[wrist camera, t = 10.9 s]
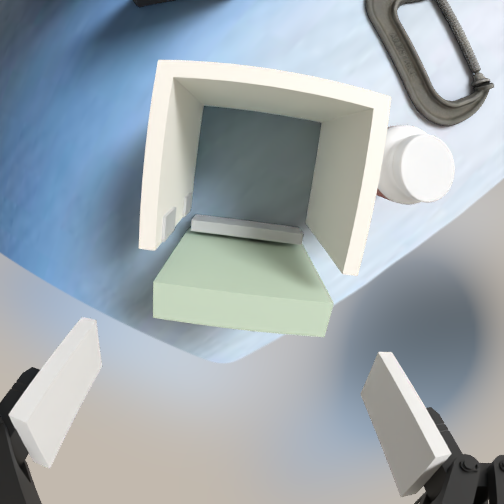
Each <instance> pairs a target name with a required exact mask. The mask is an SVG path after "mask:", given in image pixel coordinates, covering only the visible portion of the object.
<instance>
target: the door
mask: <svg viewBox="0 0 504 504" xmlns="http://www.w3.org/2000/svg"><path fill="white" fill-rule="evenodd" d="M333 304H334V303H333V301H332V299H331V297H330V295H329V293H328V291H327V289H326V288H325V286H324V284H323V282H322V280H321V278H320V276H319V274H318V272H317V271H316V269H315V267H314V265H313V263H312V261H311V259H310V258H309V256H308V254H307V252H306V250H305V248H304V247H303V245H297V244H290V243H282V242H275V241H267V240H259V239H252V238H244V237H236V236H228V235H220V234H212V233H204V232H196V231H191V228H189V229H188V230H187V232H186V233H185V235H184V236H183V237H182V239H181V240H180V242H179V243H178V245H177V246H176V248H175V249H174V251H173V252H172V254H171V255H170V257H169V258H168V260H167V261H166V263H165V264H164V266H163V268H162V269H161V271H160V272H159V274H158V275H157V277H156V278H155V280H154V281H153V318H159V319H165V320H172V321H178V322H185V323H192V324H199V325H207V326H215V327H223V328H231V329H239V330H248V331H258V332H268V333H278V334H291V335H302V336H315V337H316V336H317V337H325V333H326V330H327V326H328V323H329V319H330V315H331V312H332V308H333Z"/></svg>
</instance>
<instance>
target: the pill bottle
mask: <svg viewBox="0 0 504 504" xmlns="http://www.w3.org/2000/svg"><path fill="white" fill-rule="evenodd" d="M454 173H455V167H454V160H453V156H452V154H451V152H450V150H449V148H448V147H447V145H446V144H445V143H444V142H443V141H442V140H440V139H439V138H437V137H435V136H432V135H428V134H427V133H425V132H424V131H423V130H421V129H419V128H417V127H414V126H409V125H398V126H390V127H388V128H387V135H386V142H385V148H384V154H383V160H382V166H381V172H380V178H379V183H378V188H377V194H376V195H378V196H381V197H383V198H386V199H388V200H391V201H393V202H396V203H400V204H406V205H409V204H416V203H419V202H434V201H437V200H439V199H441V198H442V197H443V196H444V195H445V194H446V193H447V192H448V191H449V189H450V187H451V185H452V183H453V179H454Z"/></svg>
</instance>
